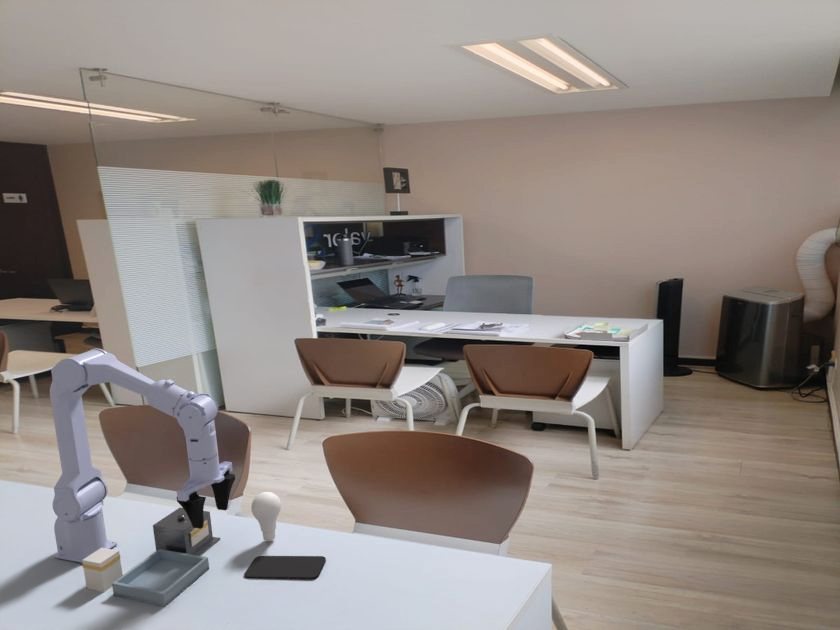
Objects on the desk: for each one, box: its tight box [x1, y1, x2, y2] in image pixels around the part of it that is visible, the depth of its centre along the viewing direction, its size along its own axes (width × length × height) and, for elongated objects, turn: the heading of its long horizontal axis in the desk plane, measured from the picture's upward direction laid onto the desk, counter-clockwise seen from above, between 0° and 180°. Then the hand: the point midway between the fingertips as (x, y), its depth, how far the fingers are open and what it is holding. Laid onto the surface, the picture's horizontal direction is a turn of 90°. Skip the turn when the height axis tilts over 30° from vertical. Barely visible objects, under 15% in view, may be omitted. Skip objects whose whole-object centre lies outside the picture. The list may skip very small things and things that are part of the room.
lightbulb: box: [251, 491, 282, 542], centre depth 131 cm, size 6×6×11 cm
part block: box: [82, 548, 124, 593], centre depth 119 cm, size 5×5×6 cm
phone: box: [243, 555, 327, 581], centre depth 121 cm, size 7×1×15 cm
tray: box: [111, 549, 210, 607], centre depth 119 cm, size 12×12×2 cm
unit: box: [150, 507, 221, 556], centre depth 130 cm, size 10×10×8 cm
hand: (210, 518), depth 126 cm, fingers open, 7 cm apart
